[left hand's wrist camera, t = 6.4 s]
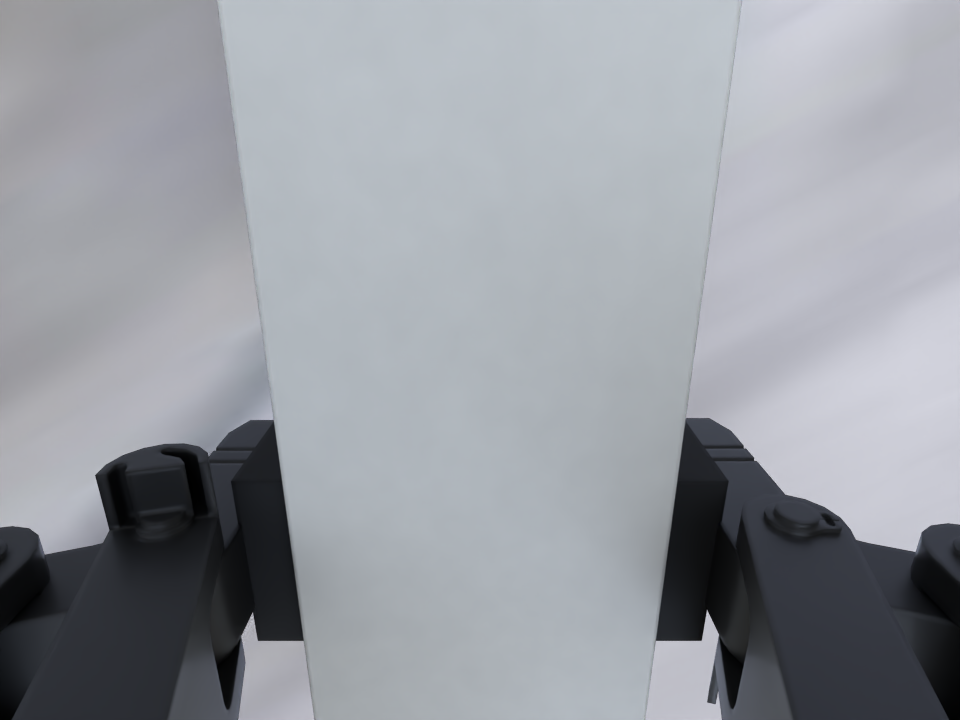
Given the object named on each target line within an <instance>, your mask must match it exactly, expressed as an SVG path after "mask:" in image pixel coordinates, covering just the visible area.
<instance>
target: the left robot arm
mask: <svg viewBox="0 0 960 720" xmlns="http://www.w3.org/2000/svg"><path fill="white" fill-rule="evenodd" d="M95 476H96V480H97V484H98V488H99V491H100V495H101V499H102V503H103V507H104V511H105V514H106V518H107V522H108V526H109V530H110V531H109V533H108V535H107V536H106V538H105V540H104V542H103V543H101V544H97V545H93V546H88V547H83V548H78V549H73V550H67V551H62V552H57V553H52V554H47V555H44V551H43V548H42V545H41V542H40V539H39V536H38V534H36V533H35V532H33V531H32V530H31V529H29V528H22V527H14V526H11V527H2V528H0V720H238V717H239V709H240V701H241V694H242V686H243V678H244V670H245V656H244V649H243V644H242V638H241V635H242V633H243V631H244V629H245V627H246V625H247V623H248V621H249V619H250V616H251V614H252V612H253V615H254V621H255V626H256V632H257V638H258V641H304V638H303V631H302V624H301V616H300V609H299V601H298V594H297V587H296V579H295V572H294V565H293V557H292V550H291V543H290V535H289V528H288V520H287V513H286V506H285V498H284V491H283V484H282V476H281V469H280V461H279V454H278V447H277V439H276V432H275V425H274V420H250V421H248V422H247V423H245V424H243V425H242V426H240V427H238V428H236V429H235V430H233V431H231V432H230V433H228V435H227V436H226V437H225V438H224V439H223V441H222V442H221V443H220V444H219V445H218V446H217V448H216V451H213V452H212V454H211V455H210V456H209V457H208V453H207V452H206V451H204V450H203V449H202V448H200V447H199V446H194V445H189V444H163V445H157V446H152V447H147V448H143V449H140V450H137V451H134V452H131V453H128V454H125V455H123V456H121V457H119V458H117V459H115V460H114V461H112V462H110V463H108V464H106V465H105V466H104V467H103V468H102V469H101V470H100V471H99V472H98V473H97V474H96V475H95ZM707 610H708V612H709V614H710V616H711V619H712V621H713V623H714V625H715V627H716V629H717V631H718V633H719V638H718V644H717V649H716V655H715V660H714V666H713V671H712V677H711V682H710V688H709V694H708V701H707V702H708V703H712V704H716V699H717V694H718V692H719V700H720V708H721V715H722V720H960V525H958V524H949V523H947V524H939V525H931V526H930V527H928V528H927V529H926V530H924V531H923V532H922V534H921V537H920V540H919V543H918V546H917V550H916V552H912V551H907V550H902V549H897V548H891V547H886V546H881V545H876V544H870V543H866V542H862V541H858V540H856V539H855V537H854V535H853V533H852V532H851V530H850V528H849V527H848V526H847V525H846V524H845V522H844V521H843V520H842V519H841V518H840V517H839V516H837V515H836V514H834V513H833V512H831V511H829V510H828V509H826V508H825V507H823V506H820V505H818V504H815V503H813V502H811V501H808V500H806V499H802V498H797V497H793V496H788V495H785V494H784V493H783V491H782V490H781V489H780V488H779V487H778V486H777V484H776V483H775V482H774V481H773V480H772V479H771V477H770V476H769V475H768V474H767V473H766V471H765V470H764V469H763V468H762V467H761V466H760V464H759V463H758V462H757V461H754V457H753V456H752V455H751V454H750V453H749V451H748V450H747V449H744V446H743V444H742V443H741V442H740V441H739V440H738V439H737V437H736V436H735V435H734V434H733V433H732V431H730V430H729V429H727V428H725V427H723V426H722V425H720V424H718V423H717V422H715V421H713V420H712V419H710V418H686V420H685V427H684V435H683V442H682V449H681V457H680V464H679V472H678V479H677V487H676V494H675V501H674V509H673V516H672V524H671V531H670V538H669V546H668V553H667V561H666V568H665V576H664V583H663V590H662V598H661V605H660V613H659V620H658V628H657V635H656V641H702V636H703V630H704V624H705V618H706V612H707Z"/></svg>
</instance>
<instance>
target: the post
mask: <svg viewBox="0 0 960 720" xmlns="http://www.w3.org/2000/svg"><path fill="white" fill-rule="evenodd" d="M741 4H742V0H217V5H218V12H219V19H220V27H221V34H222V41H223V49H224V56H225V64H226V71H227V78H228V86H229V93H230V100H231V108H232V115H233V122H234V130H235V137H236V145H237V152H238V159H239V167H240V174H241V181H242V189H243V196H244V204H245V211H246V218H247V226H248V233H249V240H250V248H251V255H252V262H253V270H254V277H255V285H256V292H257V299H258V307H259V314H260V321H261V329H262V336H263V344H264V351H265V358H266V366H267V373H268V380H269V388H270V395H271V403H272V410H273V417H274V425H275V432H276V439H277V447H278V454H279V461H280V469H281V476H282V484H283V491H284V498H285V506H286V513H287V520H288V528H289V535H290V543H291V550H292V557H293V565H294V572H295V579H296V587H297V594H298V601H299V609H300V616H301V624H302V631H303V638H304V646H305V653H306V660H307V668H308V675H309V683H310V690H311V697H312V705H313V712H314V719H315V720H645V717H646V709H647V702H648V694H649V687H650V680H651V672H652V665H653V657H654V650H655V642H656V635H657V628H658V620H659V613H660V605H661V598H662V590H663V583H664V576H665V568H666V561H667V553H668V546H669V538H670V531H671V524H672V516H673V509H674V501H675V494H676V487H677V479H678V472H679V464H680V457H681V449H682V442H683V435H684V427H685V420H686V412H687V405H688V397H689V390H690V383H691V375H692V368H693V360H694V353H695V345H696V338H697V331H698V323H699V316H700V308H701V301H702V294H703V286H704V279H705V271H706V264H707V256H708V249H709V242H710V234H711V227H712V219H713V212H714V204H715V197H716V190H717V182H718V175H719V167H720V160H721V152H722V145H723V138H724V130H725V123H726V115H727V108H728V100H729V93H730V86H731V78H732V71H733V63H734V56H735V49H736V41H737V34H738V26H739V19H740V11H741Z"/></svg>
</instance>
